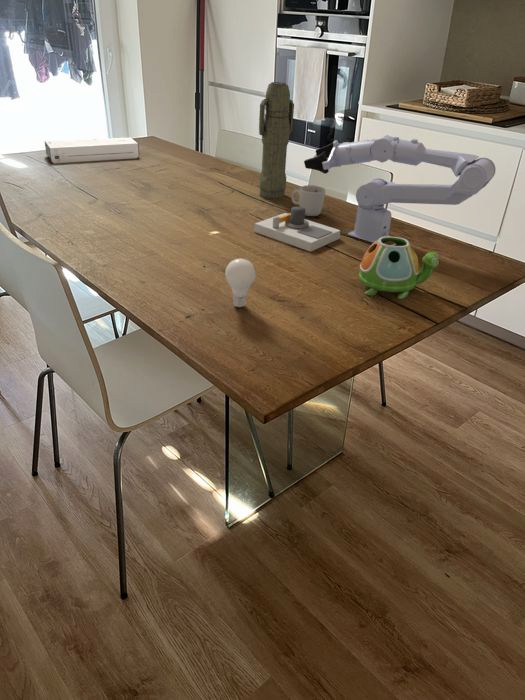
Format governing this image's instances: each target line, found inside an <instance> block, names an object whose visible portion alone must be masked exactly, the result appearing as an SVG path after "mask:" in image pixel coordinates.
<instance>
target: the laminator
mask: <svg viewBox="0 0 525 700" xmlns="http://www.w3.org/2000/svg"><path fill="white" fill-rule="evenodd" d="M139 147H140V146H139V142H138V141H136V140H135V138H132V137H131V136H130V137H115V138H112V137H111V138H109V137H108V138H91V139H87V138H85V139H71V140H70V139H69V140H68V139H67V140H66V139H65V140H50V141H49V140H48V141H47V140H46V141H44V148H45V153H46V156H47V157H48V158H49V160H50V162H51V163H52V164H61V163H62V164H64V163H67V164H68V163H80V162H82V163H83V162H96V161H98V162H99V161H113V160H128V159H129V160H130V159H139V157H140V151H139V150H140V149H139Z"/></svg>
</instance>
